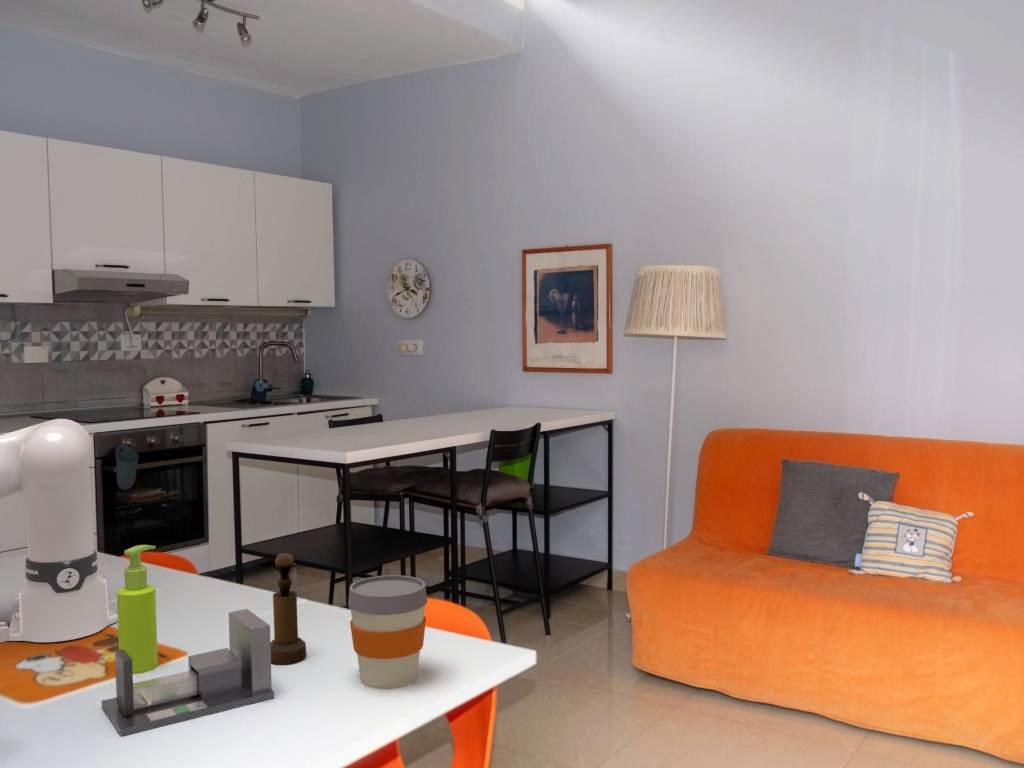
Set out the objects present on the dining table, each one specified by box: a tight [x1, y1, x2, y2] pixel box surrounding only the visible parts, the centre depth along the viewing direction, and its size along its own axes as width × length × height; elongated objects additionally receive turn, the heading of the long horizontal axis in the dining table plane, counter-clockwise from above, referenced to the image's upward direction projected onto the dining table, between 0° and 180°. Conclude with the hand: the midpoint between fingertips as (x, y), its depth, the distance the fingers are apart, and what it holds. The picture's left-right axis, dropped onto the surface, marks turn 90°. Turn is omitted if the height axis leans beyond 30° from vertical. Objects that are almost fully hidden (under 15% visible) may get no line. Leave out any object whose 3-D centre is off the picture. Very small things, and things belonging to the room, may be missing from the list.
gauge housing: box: [101, 608, 275, 737], centre depth 138 cm, size 12×22×11 cm, turn 126°
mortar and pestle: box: [270, 552, 307, 666], centre depth 157 cm, size 7×6×18 cm
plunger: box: [114, 649, 199, 716], centre depth 135 cm, size 8×11×8 cm
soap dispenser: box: [116, 544, 159, 674], centre depth 153 cm, size 6×7×20 cm
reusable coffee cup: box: [347, 574, 428, 689], centre depth 148 cm, size 13×12×15 cm
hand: (8, 630), depth 124 cm, fingers closed
